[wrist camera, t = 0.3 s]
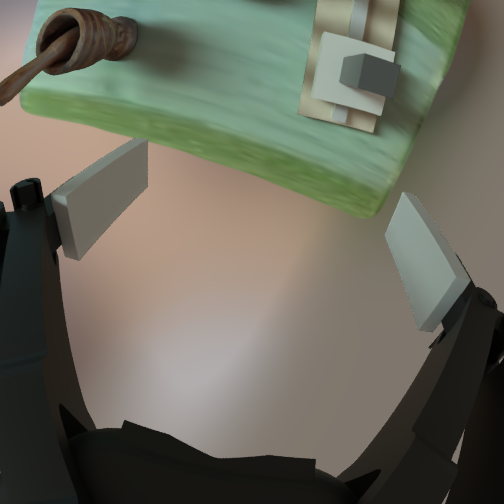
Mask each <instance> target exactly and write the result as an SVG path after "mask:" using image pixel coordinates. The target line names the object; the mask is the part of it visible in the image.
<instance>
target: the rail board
mask: <svg viewBox="0 0 504 504" xmlns="http://www.w3.org/2000/svg"><path fill="white" fill-rule="evenodd" d="M399 2H400V0H317V6H316V12H315V18H314V24H313V30H312V36H311V42H310V47H309V53H308V59H307V64H306V70H305V75H304V81H303V87H302V92H301V97H300V103H299V108H298V115H302V116H307V117H312V118H317V119H321V120H325V121H330V122H334V123H338V124H342V125H346V126H349V127H353V128H357V129H360V130H364V131H367V132H371V133H373V130H374V126H375V123H376V119H377V115H376V114H373V113H370V112H366V111H363V110H359V109H356V108H352V107H349V106H345V105H341V104H337V103H333V102H329V101H325V100H320V99H316V98H312V97H311V91H312V86H313V81H314V76H315V70H316V65H317V59H318V54H319V48H320V42H321V37H322V34H323V33H324V31H325V32H329V33H333V34H337V35H341V36H345V37H349V38H352V39H356V40H359V41H363V42H366V43H369V44H372V45H375V46H378V47H381V48H384V49H387V50H390V51H392V46H393V40H394V34H395V29H396V22H397V16H398V9H399Z"/></svg>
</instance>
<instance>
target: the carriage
mask: <svg viewBox="0 0 504 504" xmlns="http://www.w3.org/2000/svg"><path fill="white" fill-rule="evenodd" d="M394 56H395V52H393V51H390V50H387V49H384V48H381V47H378V46H375V45H372V44H369V43H366V42H363V41H359V40H356V39H352V38H349V37H345V36H341V35H337V34H333V33H329V32H325V31H324V33H323V34H322V37H321V42H320V48H319V54H318V59H317V65H316V70H315V76H314V81H313V86H312V91H311V97H312V98H316V99H320V100H325V101H329V102H333V103H337V104H341V105H345V106H349V107H352V108H356V109H359V110H363V111H366V112H370V113H373V114H376V115H379V116H381V114H382V110H383V106H384V102H385V98H386V97H387V98H390V99H394V95H395V90H396V86H397V81H398V77H399V72H400V67H401V65H398V64H395V63H393V61H394Z"/></svg>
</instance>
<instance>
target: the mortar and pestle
mask: <svg viewBox="0 0 504 504" xmlns="http://www.w3.org/2000/svg"><path fill="white" fill-rule="evenodd" d="M136 40H137V26H136V22H133V21H132V20H131V19H129V18H127V17H122V16H119V17H115V18H112V19H111V18H110V17H108V16H106V15H104V14H103V13H101V12H98V11H95V10H90V9H79V8H65V9H61V10H59V11H56V12H55V13H54V14H52V15H51V16H50V17H49V18H48V19H47V20H46V22H45V23H44V24H43V26H42V28H41V30H40V32H39V34H38V39H37V42H36V55H37V57H36V58H35V59H33V60H32V61H31V62H29V63H27V64H26V65H24V66H23V67H21V68H20V69H18V70H17V71H15V72H14V73H13V74H11V75H10V76H8V77H7V78H5V79H4V80H3V81H2V82H1V83H0V106H3V105H5V104H6V103H7V102H9V101H11V100H12V99H13V98H14V97H15V96H16V95H17V94H18V93H19V92H20V91H21V90H22V89H23V88H24V87H25V86H26V85H27V84H28V83H29V82H30V81H31V80H32V79H33V78H34V77H35V76H36V75H37V74H38V73H40V72H41V71H42V70H43V71H44V72H46V73H47V74H50V75H60V74H63V73H68V72H71V71H74V70H80V69H83V68H86V67H89V66H91V65H93V64H95V63H96V62H98V61H100V60H102V59H105V60H109V61H116V60H119V59H122V58H124V57H125V56H127V55H128V54H129V53H130V52H131V51H132V49H133V48H134V46H135V43H136Z"/></svg>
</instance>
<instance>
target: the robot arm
mask: <svg viewBox="0 0 504 504" xmlns="http://www.w3.org/2000/svg"><path fill="white" fill-rule="evenodd" d="M147 187H148V139H144V138H134V139H132V140H130V141H129V142H127V143H125V144H124V145H122V146H120V147H119V148H117V149H115V150H114V151H112V152H111V153H109V154H107V155H106V156H104V157H103V158H101V159H99V160H98V161H96V162H95V163H93V164H92V165H90V166H89V167H87V168H86V169H84V170H83V171H81V172H80V173H79V174H77V175H76V176H74V177H72V178H71V179H69V180H68V181H67V182H66V183H64V184H62V185H61V186H60V187H59V188H57V189H56V190H54V191H53V192H52V193H50V194H49V195H48V196H47V197H45V198H44V197H43V192H42V186H41V181H40V179H38V178H29V179H25V180H22V181H20V182H18V183H16V184H15V185H14V186H12V188H11V189H10V194H11V198H12V202H13V206H14V212H6V211H5V207H4V204H3V202H1V201H0V472H1V473H0V504H442V502H443V500H444V498H445V497H446V495H447V493H448V491H449V490H450V491H449V494H448V497H447V500H446V503H445V504H504V358H503V360H502V361H501V363H500V364H499V360H500V359H501V358H502V357H503V356H504V313H502V312H500V311H498V310H497V304H496V302H495V300H494V298H493V297H492V296H491V295H490V294H489V293H488V292H487V291H486V290H484V289H482V288H479V287H475V285H474V283H473V281H472V279H471V278H470V276H469V274H468V272H467V271H466V269H465V267H464V265H463V264H462V262H461V260H460V259H459V257H458V256H457V254H456V253H455V252H454V251H453V249H452V248H451V246H450V245H449V243H448V241H447V240H446V238H445V237H444V235H443V234H442V232H441V231H440V229H439V228H438V227H437V225H436V223H435V222H434V221H433V219H432V218H431V216H430V215H429V213H428V212H427V210H426V209H425V208H424V206H423V205H422V204H421V202H420V201H419V200H418V198H417V197H416V196H415V195H413V194H410V193H407V192H404V191H403V192H402V195H401V197H400V200H399V202H398V205H397V207H396V210H395V212H394V214H393V217H392V219H391V221H390V224H389V226H388V228H387V231H386V233H385V238H386V240H387V243H388V245H389V248H390V250H391V253H392V255H393V258H394V261H395V263H396V266H397V268H398V271H399V274H400V276H401V279H402V282H403V285H404V288H405V291H406V294H407V297H408V300H409V303H410V306H411V309H412V312H413V315H414V319H415V322H416V325H417V328H418V330H419V331H426V332H433V331H434V330H435V329H436V328H437V326H438V325H439V324H440V322H442V325H443V328H444V330H443V331H442V332H441V333H440V335H439V336H438V337H437V338H436V339H435V341H434V342H433V343H432V344H431V345H430V346H429V348H430V349H431V348H432V349H431V351H430V353H429V355H428V357H427V359H426V361H425V362H424V364H423V366H422V368H421V370H420V371H419V373H418V375H417V376H416V378H415V379H414V381H413V383H412V385H411V386H410V388H409V389H408V391H407V393H406V394H405V396H404V397H403V399H402V400H401V402H400V403H399V405H398V406H397V408H396V409H395V411H394V412H393V413H392V415H391V416H390V418H389V419H388V421H387V422H386V423H385V425H384V426H383V427H382V429H381V430H380V432H379V433H378V434H377V435H376V437H375V438H374V439H373V441H372V442H371V443H370V444H369V446H368V447H367V448H366V449H365V451H364V452H363V453H362V454H361V456H360V457H359V458H358V459H357V460H356V461H355V462H354V463H353V464H352V465H351V466H350V467H349V468H347V469H346V470H345V471H343V472H342V473H341V474H340V475H339V476H338V477H337V478H335V477H333V476H332V475H330V474H328V473H326V472H323V471H321V470H319V469H316V468H315V464H316V459H306V458H293V457H282V456H273V455H265V456H255V457H242V458H223V459H222V458H215V457H212V456H209V455H208V454H205V453H203V452H201V451H199V450H197V449H195V448H193V447H191V446H189V445H187V444H186V443H183V442H182V441H180V440H178V439H176V438H174V437H173V436H171V435H169V434H166V433H162V432H159V431H155V430H152V429H149V428H146V427H143V426H140V425H137V424H134V423H132V422H129V421H126V420H124V422H123V425H122V428H103V429H96V427H95V424H94V422H93V420H92V418H91V417H90V415H89V413H88V411H87V408H86V406H85V403H84V400H83V397H82V393H81V389H80V386H79V382H78V378H77V374H76V370H75V366H74V362H73V357H72V353H71V349H70V343H69V338H68V333H67V327H66V321H65V314H64V308H63V301H62V292H61V283H60V272H59V259H58V255H57V251H56V250H57V249H58V247H60V246H61V245H62V247H63V251H64V254H65V257H68V258H71V259H75V260H78V261H79V260H81V258H82V257H83V256H84V255H85V254H86V252H87V251H88V250H89V249H90V248H91V246H92V245H93V244H94V243H95V242H96V241H97V240H98V239H99V237H100V236H101V235H102V234H103V233H104V232H105V231H106V230H107V229H108V227H109V226H110V225H111V224H112V223H113V222H114V221H115V220H116V218H118V217H119V216H120V215H121V213H122V212H123V211H124V210H125V209H126V208H127V207H128V206H129V205H130V204H131V203H132V202H133V201H134V200H135V199H136V198H137V197H138V196H139V195H140V194H141V193H142V192H143V191H144V190H145V189H146V188H147ZM464 429H465V431H464ZM463 431H464V436H463V441H462V446H461V451H460V455H459V459H458V463H457V464H455V463H454V462H453V461H452V460H451V459H452V456H453V454H454V451H455V450H456V447H457V445H458V443H459V441H460V439H461V436H462V434H463Z"/></svg>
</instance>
